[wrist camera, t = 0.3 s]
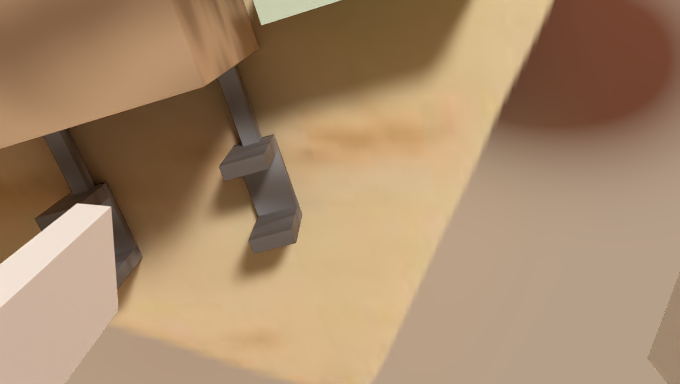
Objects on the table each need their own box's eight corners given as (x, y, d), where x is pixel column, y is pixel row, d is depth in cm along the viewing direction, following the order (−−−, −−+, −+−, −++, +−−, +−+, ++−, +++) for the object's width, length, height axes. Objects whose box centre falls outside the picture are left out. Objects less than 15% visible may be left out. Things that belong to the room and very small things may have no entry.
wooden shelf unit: (-60, -25, 34) (-320, -30, 21) (202, -118, 31) (96, -191, 18) (96, 269, 41) (-23, 400, 28) (315, 211, 39) (296, 324, 26)
